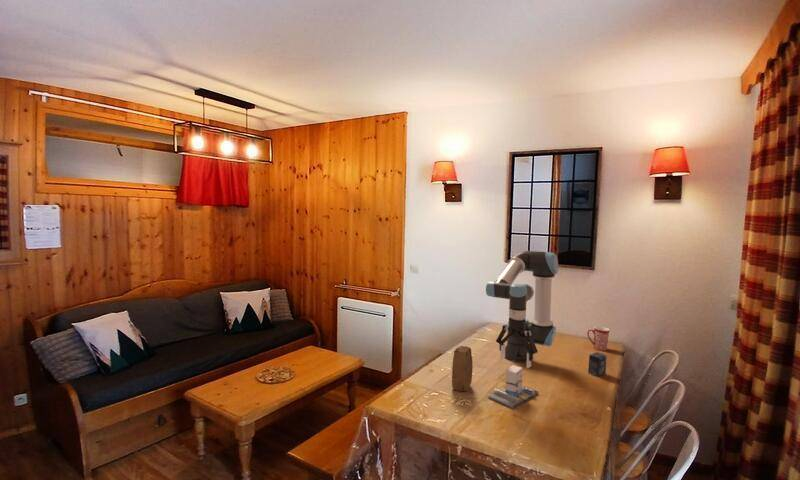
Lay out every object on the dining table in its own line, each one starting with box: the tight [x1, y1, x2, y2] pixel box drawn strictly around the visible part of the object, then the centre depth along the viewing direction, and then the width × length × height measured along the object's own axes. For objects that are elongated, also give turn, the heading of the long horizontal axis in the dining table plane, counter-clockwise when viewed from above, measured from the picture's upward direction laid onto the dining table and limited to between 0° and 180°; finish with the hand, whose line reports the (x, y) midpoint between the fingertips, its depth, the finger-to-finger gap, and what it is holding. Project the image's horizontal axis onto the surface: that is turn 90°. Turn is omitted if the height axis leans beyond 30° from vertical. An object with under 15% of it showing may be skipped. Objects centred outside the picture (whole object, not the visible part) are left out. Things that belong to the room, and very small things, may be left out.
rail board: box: [487, 385, 539, 410], centre depth 182 cm, size 13×22×3 cm, turn 132°
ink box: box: [505, 365, 523, 396], centre depth 182 cm, size 9×5×12 cm, turn 142°
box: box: [587, 351, 608, 377], centre depth 211 cm, size 8×6×11 cm
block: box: [451, 345, 474, 392], centre depth 189 cm, size 11×8×20 cm
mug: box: [587, 326, 610, 352], centre depth 251 cm, size 13×9×14 cm
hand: (515, 362), depth 181 cm, fingers open, 13 cm apart
